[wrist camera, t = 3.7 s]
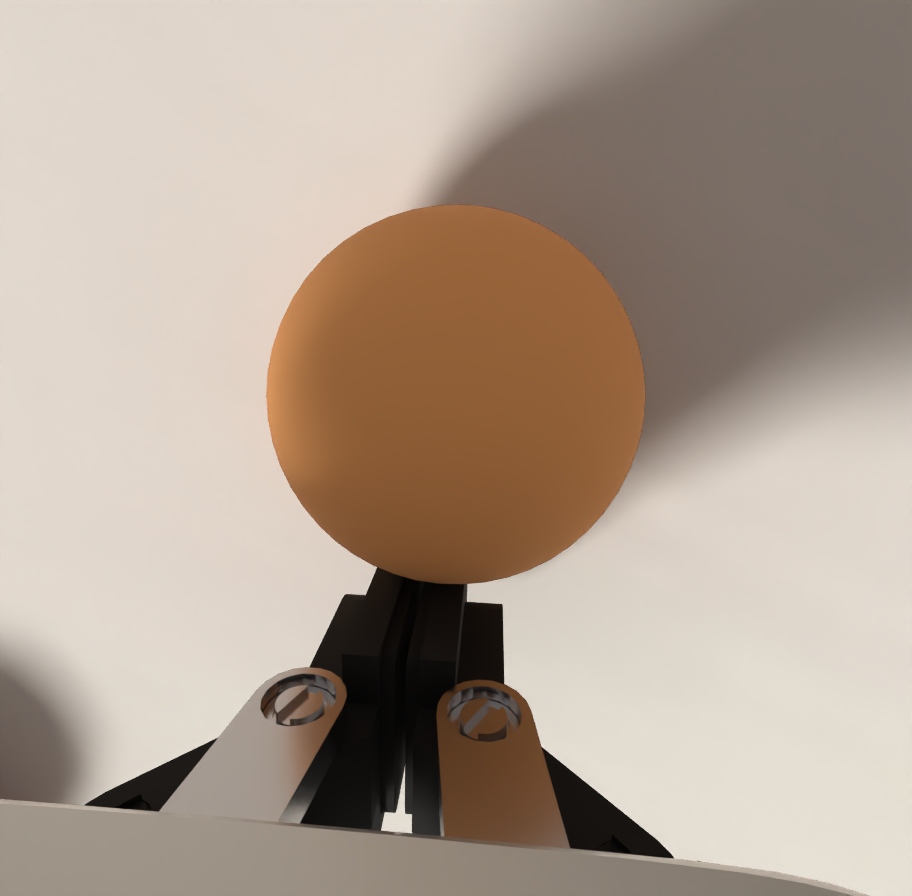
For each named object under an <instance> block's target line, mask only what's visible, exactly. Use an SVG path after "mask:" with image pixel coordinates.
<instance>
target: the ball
mask: <svg viewBox="0 0 912 896" xmlns="http://www.w3.org/2000/svg"><path fill="white" fill-rule="evenodd" d="M266 397H267V411H268V422H269V427H270V432H271V437H272V442H273V445H274V448H275V451H276V454H277V457H278V460H279V463H280V466H281V468H282V470H283V472H284V474H285V476H286V478H287V480H288V482H289V485H290V487H291V488H292V490H293V491H294V493H295V494H296V496H297V498H298V499H299V501H300V502H301V504H302V505H303V507H304V508H305V509H306V511H307V512H308V513H309V514H310V515H311V517H312V518H313V519H314V520H315V521H316V523H317V524H318V525H319V526H320V527H321V528H322V529H323V530H324V531H325V532H326V533H328V534H329V535H330V536H331V537H332V538H333V539H334V540H335V541H336V542H338V543H339V544H340V545H342V546H343V547H344V548H346V549H347V550H348V551H350V552H351V553H352V554H354V555H356V556H357V557H359V558H361V559H363V560H365V561H366V562H368V563H370V564H372V565H374V566H376V567H378V568H381V569H383V570H386V571H388V572H390V573H393V574H396V575H399V576H403V577H406V578H410V579H414V580H419V581H425V582H431V583H440V584H470V583H482V582H488V581H493V580H498V579H502V578H507V577H510V576H513V575H516V574H519V573H522V572H524V571H527V570H530V569H532V568H534V567H536V566H538V565H540V564H542V563H544V562H546V561H548V560H550V559H552V558H553V557H555V556H556V555H558V554H559V553H561V552H562V551H564V550H565V549H567V548H568V547H570V546H571V545H572V544H573V543H574V542H576V541H577V540H578V539H579V538H580V537H581V536H583V535H584V534H585V533H586V532H587V531H588V530H589V529H590V528H591V527H592V526H593V525H594V523H595V522H596V521H597V520H598V519H599V518H600V517H601V516H602V515H603V513H604V512H605V510H606V509H607V508H608V506H609V505H610V503H611V502H612V500H613V499H614V497H615V496H616V494H617V493H618V491H619V490H620V488H621V486H622V484H623V482H624V480H625V478H626V476H627V474H628V472H629V470H630V468H631V465H632V462H633V459H634V457H635V454H636V451H637V448H638V445H639V440H640V436H641V431H642V426H643V421H644V408H645V382H644V369H643V364H642V359H641V354H640V349H639V345H638V342H637V339H636V336H635V333H634V330H633V327H632V325H631V322H630V319H629V317H628V315H627V313H626V311H625V309H624V307H623V305H622V304H621V302H620V300H619V298H618V296H617V294H616V293H615V291H614V290H613V289H612V287H611V286H610V284H609V283H608V281H607V280H606V278H605V277H604V276H603V274H602V273H601V272H600V271H599V270H598V269H597V268H596V267H595V266H594V265H593V263H592V262H591V261H590V260H589V259H588V258H587V257H586V256H585V255H584V254H583V253H581V252H580V251H579V250H578V249H577V248H575V247H574V246H573V245H572V244H570V243H569V242H568V241H567V240H566V239H564V238H562V237H561V236H559V235H557V234H556V233H554V232H553V231H551V230H549V229H548V228H546V227H544V226H543V225H540V224H538V223H536V222H533V221H531V220H529V219H527V218H524V217H522V216H520V215H516V214H513V213H509V212H506V211H502V210H498V209H495V208H488V207H480V206H473V205H439V206H432V207H426V208H419V209H413V210H410V211H406V212H403V213H400V214H396V215H393V216H390V217H387V218H385V219H383V220H380V221H378V222H376V223H374V224H372V225H370V226H368V227H365V228H363V229H362V230H360V231H359V232H357V233H356V234H354V235H353V236H351V237H350V238H348V239H346V240H345V241H343V242H342V243H341V244H340V245H338V246H337V247H336V248H335V249H334V250H333V251H331V252H330V253H329V254H328V255H327V256H326V257H325V258H323V259H322V261H321V262H320V263H319V264H318V265H317V266H316V267H315V268H314V270H313V271H312V272H311V273H310V274H309V275H308V276H307V278H306V279H305V281H304V282H303V284H302V285H301V287H300V288H299V290H298V291H297V293H296V294H295V296H294V297H293V299H292V301H291V303H290V305H289V307H288V309H287V311H286V313H285V315H284V317H283V319H282V321H281V324H280V326H279V329H278V332H277V335H276V338H275V341H274V344H273V348H272V352H271V358H270V363H269V368H268V377H267V395H266Z"/></svg>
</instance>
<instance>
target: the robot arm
mask: <svg viewBox="0 0 912 896" xmlns="http://www.w3.org/2000/svg"><path fill="white" fill-rule="evenodd" d="M404 767H405V814H412V833H413V834H411V833H400V832H389V831H381V827H382V822H383V817H384V813H385V812H392V813H395V812H396V809H397V805H398V799H399V794H400V789H401V783H402V778H403V773H404ZM0 896H869V895H866V894H862V893H859V892H856V891H853V890H849V889H846V888H843V887H840V886H836V885H833V884H830V883H826V882H821V881H817V880H812V879H807V878H802V877H798V876H793V875H788V874H784V873H779V872H773V871H765V870H758V869H750V868H743V867H736V866H728V865H721V864H713V863H706V862H700V861H691V860H684V859H674V857H673V856H672V854H671V853H670V852H669V851H668V850H667V849H666V848H665V847H664V846H663V845H662V844H661V843H660V842H659V841H658V840H656V839H655V838H654V837H653V836H651V835H650V834H649V833H648V832H646V831H645V830H644V829H643V828H641V827H640V826H639V825H638V824H637V823H635V822H634V821H633V820H632V819H630V818H629V817H628V816H627V815H625V814H624V813H623V812H622V811H620V810H619V809H618V808H617V807H615V806H614V805H613V804H612V803H610V802H609V801H608V800H607V799H605V798H604V797H603V796H602V795H601V794H599V793H598V792H597V791H596V790H594V789H593V788H592V787H591V786H589V785H588V784H587V783H586V782H584V781H583V780H582V779H581V778H579V777H578V776H577V775H576V774H574V773H573V772H572V771H571V770H569V769H568V768H567V767H566V766H565V765H563V764H562V763H561V762H560V761H558V760H557V759H556V758H555V757H553V756H552V755H551V754H550V753H548V752H547V751H546V750H545V749H543V748H542V747H541V744H540V740H539V737H538V733H537V730H536V726H535V723H534V719H533V715H532V712H531V709H530V707H529V705H528V703H527V701H526V700H525V699H524V698H523V697H522V696H521V695H520V694H519V693H518V692H517V691H516V690H514V689H512V688H510V687H509V686H507V685H505V684H504V650H503V606H502V604H491V603H476V602H467V584H440V583H431V582H425V581H419V580H414V579H410V578H406V577H403V576H399V575H396V574H393V573H390V572H388V571H386V570H383V569H381V568H378V567H377V569H376V572H375V574H374V577H373V579H372V582H371V584H370V586H369V589H368V591H367V594H366V595H353V594H346V595H344V597H343V599H342V600H341V603H340V605H339V607H338V609H337V611H336V613H335V615H334V617H333V619H332V621H331V623H330V626H329V628H328V630H327V632H326V634H325V636H324V638H323V640H322V642H321V644H320V646H319V648H318V651H317V653H316V655H315V657H314V659H313V661H312V663H311V665H310V667H305V668H297V669H291V670H288V671H285V672H283V673H280V674H277V675H276V676H274V677H272V678H270V679H269V680H267V681H266V682H265V683H264V684H262V685H261V686H260V687H259V688H258V689H257V690H256V691H255V693H254V694H253V695H252V696H251V698H250V699H249V700H248V701H247V703H246V704H245V705H244V706H243V708H242V709H241V710H240V711H239V713H238V714H237V715H236V716H235V718H234V719H233V720H232V721H231V723H230V724H229V725H228V726H227V727H226V729H225V730H224V731H223V732H222V734H221V735H220V736H219V737H218V738H216V739H214V740H212V741H210V742H208V743H206V744H204V745H202V746H200V747H198V748H196V749H194V750H192V751H190V752H187V753H185V754H183V755H181V756H179V757H177V758H175V759H173V760H171V761H169V762H167V763H165V764H163V765H161V766H159V767H157V768H154V769H152V770H150V771H148V772H146V773H144V774H142V775H140V776H138V777H136V778H134V779H132V780H130V781H128V782H126V783H123V784H121V785H119V786H117V787H115V788H113V789H111V790H109V791H107V792H105V793H103V794H102V795H100V796H98V797H97V798H95V799H93V800H91V801H90V802H88V803H87V804H85V805H84V806H83V805H71V804H58V803H45V802H32V801H20V800H7V799H0Z"/></svg>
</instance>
